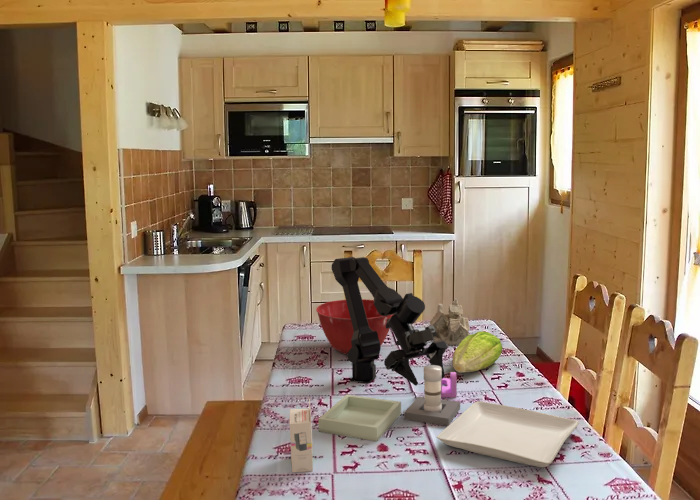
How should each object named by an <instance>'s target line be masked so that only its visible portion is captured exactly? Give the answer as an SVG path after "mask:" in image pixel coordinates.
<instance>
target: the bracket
mask: <svg viewBox="0 0 700 500" xmlns="http://www.w3.org/2000/svg"><path fill="white" fill-rule="evenodd" d="M449 374H450V377H449V378H447V377H444V378H443V379H442V380H441V398H457V395H458V394H457V393H458V392H457V389H458V388H457V386H458V385H457V382H458V381H457V371H456V372H455V371H453V372H452V371H451V372H450V373H449ZM445 385H446V386H445Z"/></svg>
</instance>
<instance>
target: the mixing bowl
mask: <svg viewBox="0 0 700 500" xmlns="http://www.w3.org/2000/svg"><path fill="white" fill-rule="evenodd" d="M362 301H363V305H364V309H365V313H366V317H367V321H368V324H369V327H370V328H371V330H372V331H376V332H377V333H378V338H379V341H380V346H382V345H383V343H384V342H385V341H386V338H387V337H388V334H389V332H390V329H391V328H388V329H386V323H387V319H390V318H391V317H392V316H393V315H394V314H393V315H387V316H381V315H380V314H379V313H378V311H377V309H376V307H375V306H374V299H365V298H362ZM315 310H316V313H317V315H318V320H319V323H320V326H321V328H322V331H323V333H324V336H325V338H326V339H327V341H328V343H329V344H330V346H332V348H333V349H335V351H338V352H339V353H340V354H341V353H342V354H343V355H347V353H348V352H349V350H350V349H351V348H352V344H351V340H352V336H353V333H354V330H353V326H352V322H351V318H350V314H349V310H348V306H347V302H346V299H339V300H332V301H328V302H323V303H322V304H320V305H318V306H317V307H316V308H315Z"/></svg>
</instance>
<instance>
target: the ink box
mask: <svg viewBox="0 0 700 500" xmlns="http://www.w3.org/2000/svg"><path fill="white" fill-rule="evenodd" d="M308 406H309V407H308V408H292V409H291V408H290V409H289V440H290V458H291V459H290V460H291V473H304V472H305V473H306V472H313V471H314V465H313V463H314V459H313V431H312V430H313V428H312V415H311V412H312V411H311V399H310V398H308Z"/></svg>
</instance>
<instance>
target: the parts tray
mask: <svg viewBox="0 0 700 500" xmlns="http://www.w3.org/2000/svg"><path fill="white" fill-rule="evenodd" d="M401 415H402V402H401V401H398V400H391V399H384V398H383V399H382V398H375V397H368V396H361V395H360V396H359V395H353V394H346V395H344V396H343V397H342V398H340V400H338V401H337V402H336V403H335V404H333V406H331V407H330V408H329V409H327V411H325V412H324V413H323V414H322V415H321V416H320V417H319V418H318V432H319V433H324V434H331V435H337V436H342V437H348V438H355V439H361V440H367V441H373V442H378V441H379V440H380V439H381V438H382V436H384V434H385V433H386V432H387V431H388V430H389V429H390V428H391V426H392V425H393V424H394V423H395V421H397V419H398V418H399V417H400V416H401Z"/></svg>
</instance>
